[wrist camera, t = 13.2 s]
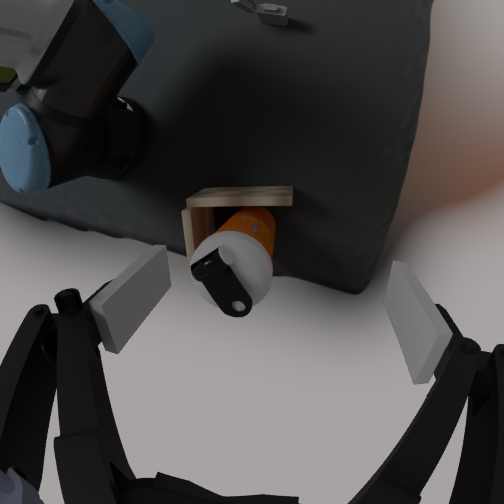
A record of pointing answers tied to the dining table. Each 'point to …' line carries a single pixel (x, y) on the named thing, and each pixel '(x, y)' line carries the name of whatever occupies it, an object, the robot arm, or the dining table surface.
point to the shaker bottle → (236, 262)
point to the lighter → (264, 11)
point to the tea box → (8, 79)
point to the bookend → (201, 205)
